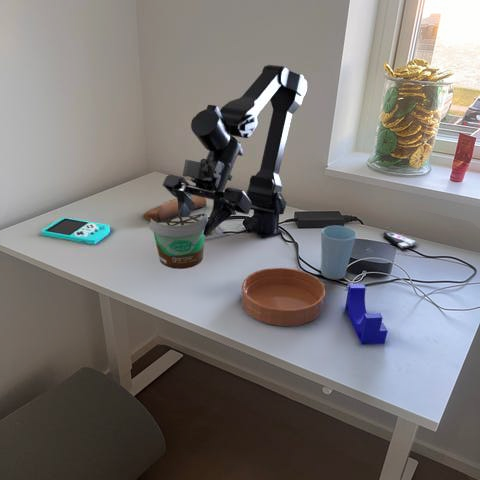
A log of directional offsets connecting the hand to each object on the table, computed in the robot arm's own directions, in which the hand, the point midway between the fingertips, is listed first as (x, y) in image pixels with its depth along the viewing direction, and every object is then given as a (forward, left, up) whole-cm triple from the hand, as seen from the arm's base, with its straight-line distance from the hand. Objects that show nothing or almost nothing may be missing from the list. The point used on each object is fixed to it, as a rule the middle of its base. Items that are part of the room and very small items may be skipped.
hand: (191, 231), depth 102 cm
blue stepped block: (-21, +30, -13) cm, 40 cm away
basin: (-13, +16, -13) cm, 24 cm away
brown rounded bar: (-16, -40, -13) cm, 45 cm away
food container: (+2, 0, -7) cm, 7 cm away
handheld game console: (+13, -41, -13) cm, 44 cm away
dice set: (-16, -24, -13) cm, 32 cm away
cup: (-30, +11, -13) cm, 35 cm away
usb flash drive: (-57, +7, -13) cm, 59 cm away
